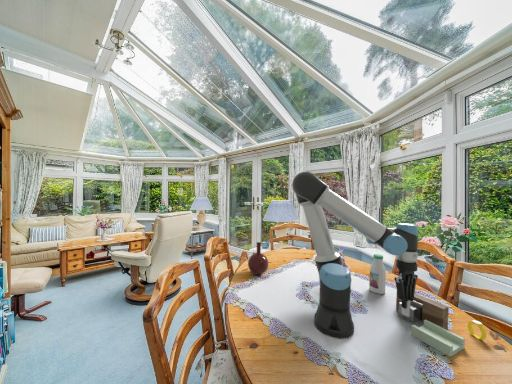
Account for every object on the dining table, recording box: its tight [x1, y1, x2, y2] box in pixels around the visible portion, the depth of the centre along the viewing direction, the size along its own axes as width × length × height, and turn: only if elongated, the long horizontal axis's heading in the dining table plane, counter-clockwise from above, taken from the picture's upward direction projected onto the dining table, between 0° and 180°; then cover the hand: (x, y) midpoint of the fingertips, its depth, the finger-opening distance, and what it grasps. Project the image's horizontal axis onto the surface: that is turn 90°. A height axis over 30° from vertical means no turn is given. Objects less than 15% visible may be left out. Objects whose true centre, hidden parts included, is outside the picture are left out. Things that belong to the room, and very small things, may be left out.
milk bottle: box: [368, 253, 387, 295], centre depth 117 cm, size 8×8×20 cm
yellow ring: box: [467, 319, 487, 341], centre depth 82 cm, size 6×3×6 cm, turn 175°
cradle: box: [410, 320, 466, 358], centre depth 79 cm, size 12×10×4 cm
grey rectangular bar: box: [398, 294, 438, 325], centre depth 95 cm, size 18×6×6 cm, turn 115°
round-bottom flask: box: [247, 241, 269, 275], centre depth 137 cm, size 13×13×20 cm
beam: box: [395, 292, 449, 330], centre depth 93 cm, size 4×18×9 cm, turn 26°
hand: (405, 314), depth 91 cm, fingers closed
